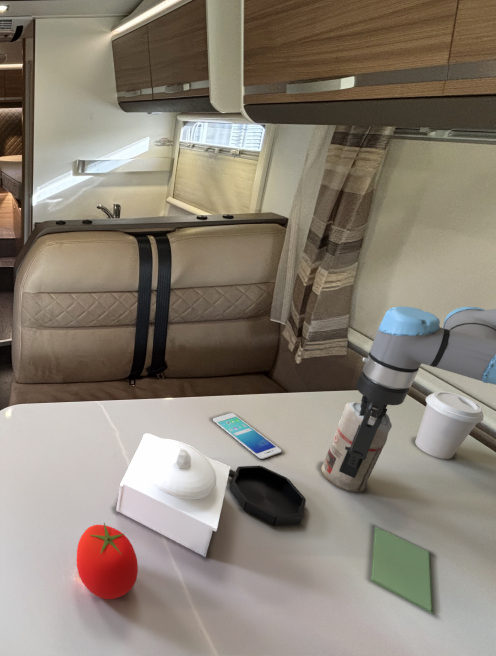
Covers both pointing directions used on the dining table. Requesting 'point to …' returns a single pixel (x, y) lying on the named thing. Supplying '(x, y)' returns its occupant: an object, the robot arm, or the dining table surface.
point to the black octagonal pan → (267, 495)
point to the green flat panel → (402, 569)
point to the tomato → (106, 562)
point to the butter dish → (174, 491)
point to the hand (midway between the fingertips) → (349, 461)
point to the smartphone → (247, 436)
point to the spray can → (345, 438)
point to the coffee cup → (447, 423)
